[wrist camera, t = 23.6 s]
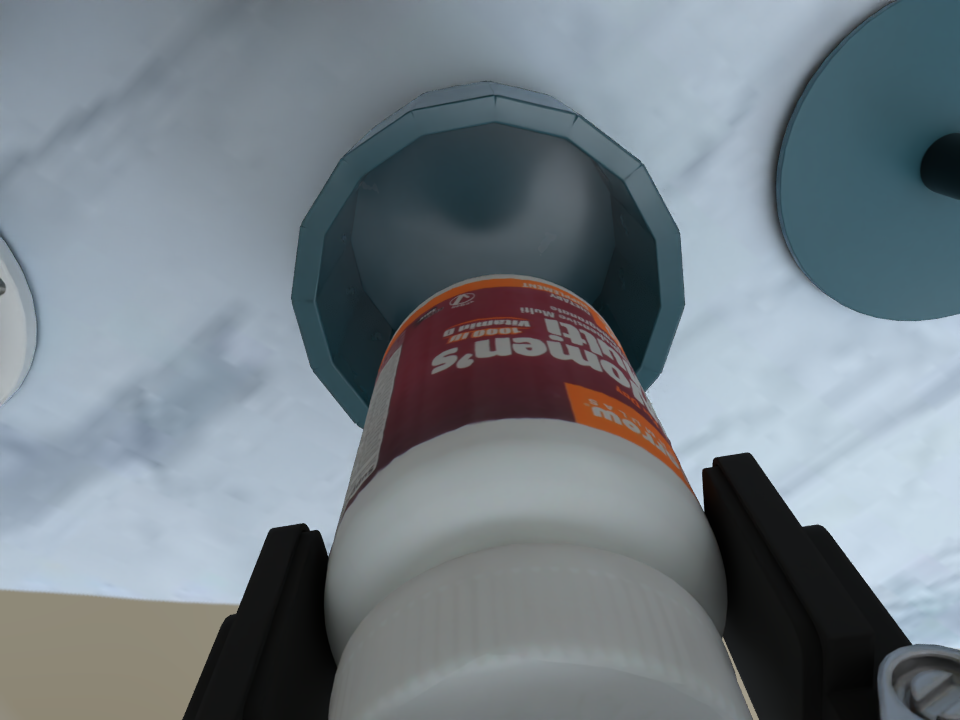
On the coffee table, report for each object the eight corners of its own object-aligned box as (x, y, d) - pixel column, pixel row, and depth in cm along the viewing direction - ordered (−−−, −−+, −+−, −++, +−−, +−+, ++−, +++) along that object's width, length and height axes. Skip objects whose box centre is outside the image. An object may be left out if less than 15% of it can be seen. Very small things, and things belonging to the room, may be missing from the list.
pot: (374, 392, 35) (347, 495, 27) (301, 114, 30) (243, 141, 22) (641, 347, 34) (694, 439, 26) (614, 55, 29) (668, 61, 21)
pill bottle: (649, 286, 18) (921, 641, 7) (595, 502, 20) (740, 1004, 10) (390, 250, 17) (277, 577, 7) (367, 476, 19) (257, 974, 9)
